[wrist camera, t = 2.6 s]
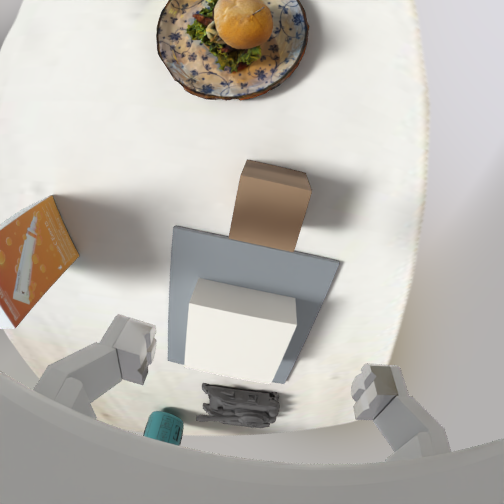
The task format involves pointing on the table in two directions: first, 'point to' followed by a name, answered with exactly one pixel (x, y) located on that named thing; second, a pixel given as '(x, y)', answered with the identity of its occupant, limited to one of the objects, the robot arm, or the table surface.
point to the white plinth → (238, 331)
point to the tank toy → (240, 407)
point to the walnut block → (270, 206)
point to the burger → (231, 45)
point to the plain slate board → (245, 283)
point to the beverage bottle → (164, 427)
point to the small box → (31, 258)
